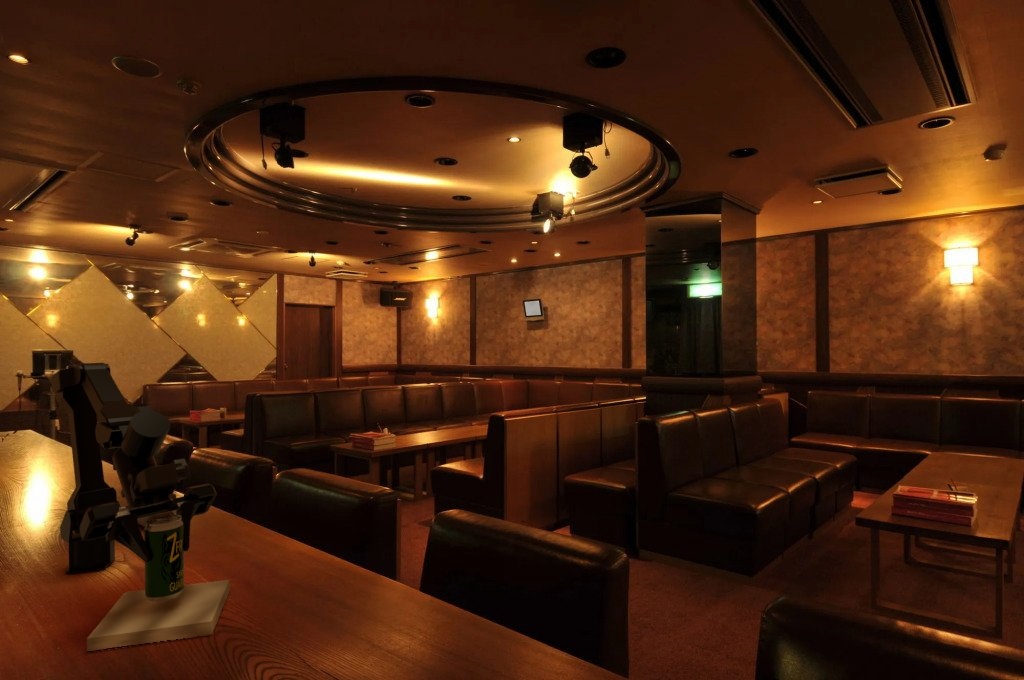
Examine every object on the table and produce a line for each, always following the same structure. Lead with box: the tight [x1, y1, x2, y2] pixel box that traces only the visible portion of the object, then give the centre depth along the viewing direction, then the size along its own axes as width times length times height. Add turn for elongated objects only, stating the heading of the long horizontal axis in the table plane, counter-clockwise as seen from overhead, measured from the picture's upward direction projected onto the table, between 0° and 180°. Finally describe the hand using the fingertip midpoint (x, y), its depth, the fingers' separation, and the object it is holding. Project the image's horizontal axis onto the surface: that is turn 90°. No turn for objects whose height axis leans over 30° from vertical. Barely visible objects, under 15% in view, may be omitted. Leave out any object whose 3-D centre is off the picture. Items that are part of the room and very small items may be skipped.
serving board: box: [86, 579, 231, 652], centre depth 94 cm, size 16×16×2 cm
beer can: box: [143, 515, 185, 602], centre depth 94 cm, size 5×5×12 cm
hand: (168, 555), depth 93 cm, fingers closed on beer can, 5 cm apart
